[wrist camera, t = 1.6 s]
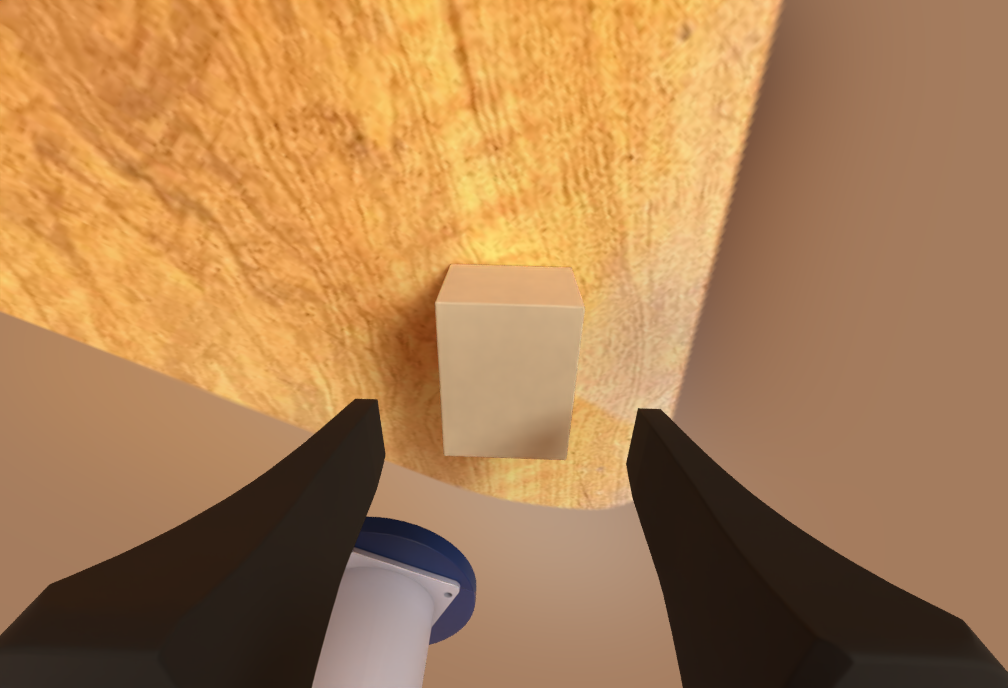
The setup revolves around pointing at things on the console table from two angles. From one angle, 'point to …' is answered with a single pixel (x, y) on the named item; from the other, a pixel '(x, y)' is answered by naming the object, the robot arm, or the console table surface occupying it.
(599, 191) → the console table surface
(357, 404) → the robot arm
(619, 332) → the console table surface
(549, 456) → the beige rectangular block
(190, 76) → the console table surface
